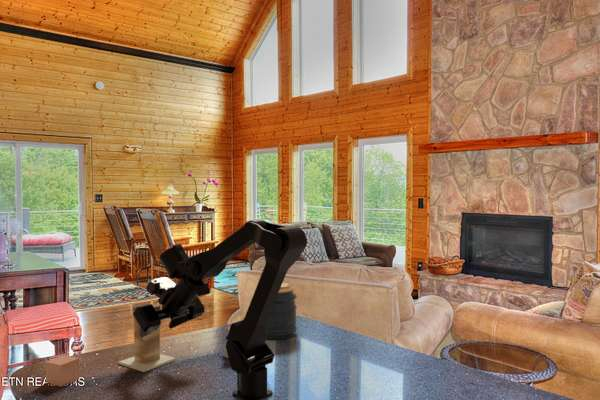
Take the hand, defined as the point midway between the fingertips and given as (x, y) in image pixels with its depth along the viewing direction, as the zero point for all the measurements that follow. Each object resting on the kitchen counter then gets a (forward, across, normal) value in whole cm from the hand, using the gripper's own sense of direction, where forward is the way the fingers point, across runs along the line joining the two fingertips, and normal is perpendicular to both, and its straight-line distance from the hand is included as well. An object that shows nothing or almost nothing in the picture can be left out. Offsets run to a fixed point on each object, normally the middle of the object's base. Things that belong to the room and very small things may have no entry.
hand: (155, 331), depth 126 cm
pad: (+8, 0, +4) cm, 9 cm away
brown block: (+8, 0, +3) cm, 9 cm away
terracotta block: (+13, +19, -1) cm, 23 cm away
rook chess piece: (-2, -16, +14) cm, 21 cm away
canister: (0, -38, +13) cm, 41 cm away
